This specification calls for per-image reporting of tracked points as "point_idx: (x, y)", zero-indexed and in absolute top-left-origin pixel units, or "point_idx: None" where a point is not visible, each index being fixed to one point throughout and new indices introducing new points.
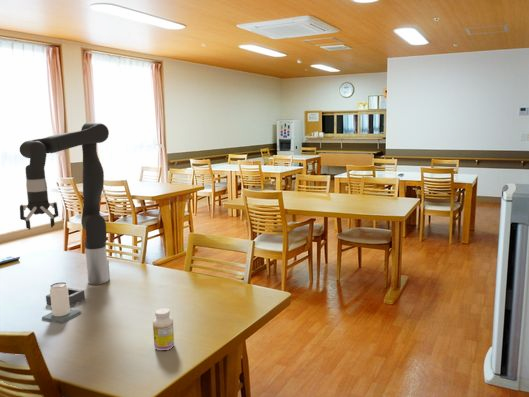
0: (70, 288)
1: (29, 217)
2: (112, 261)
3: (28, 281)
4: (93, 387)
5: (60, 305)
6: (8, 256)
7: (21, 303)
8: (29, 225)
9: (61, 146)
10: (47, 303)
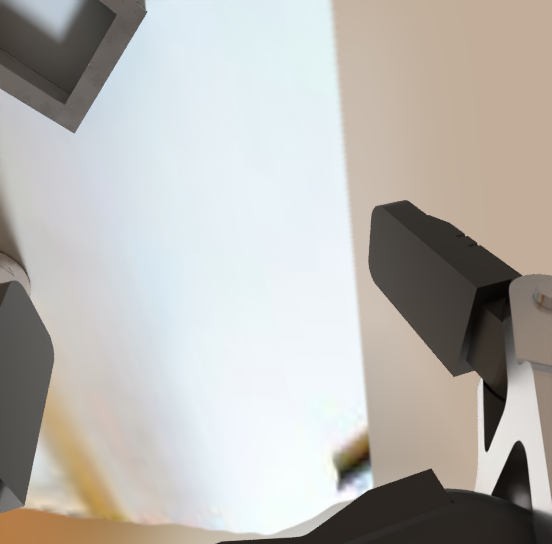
0: (33, 103)
1: (534, 347)
2: None
3: (287, 322)
4: None
5: None
6: (364, 491)
7: (273, 80)
8: (418, 233)
9: None
10: (140, 5)
